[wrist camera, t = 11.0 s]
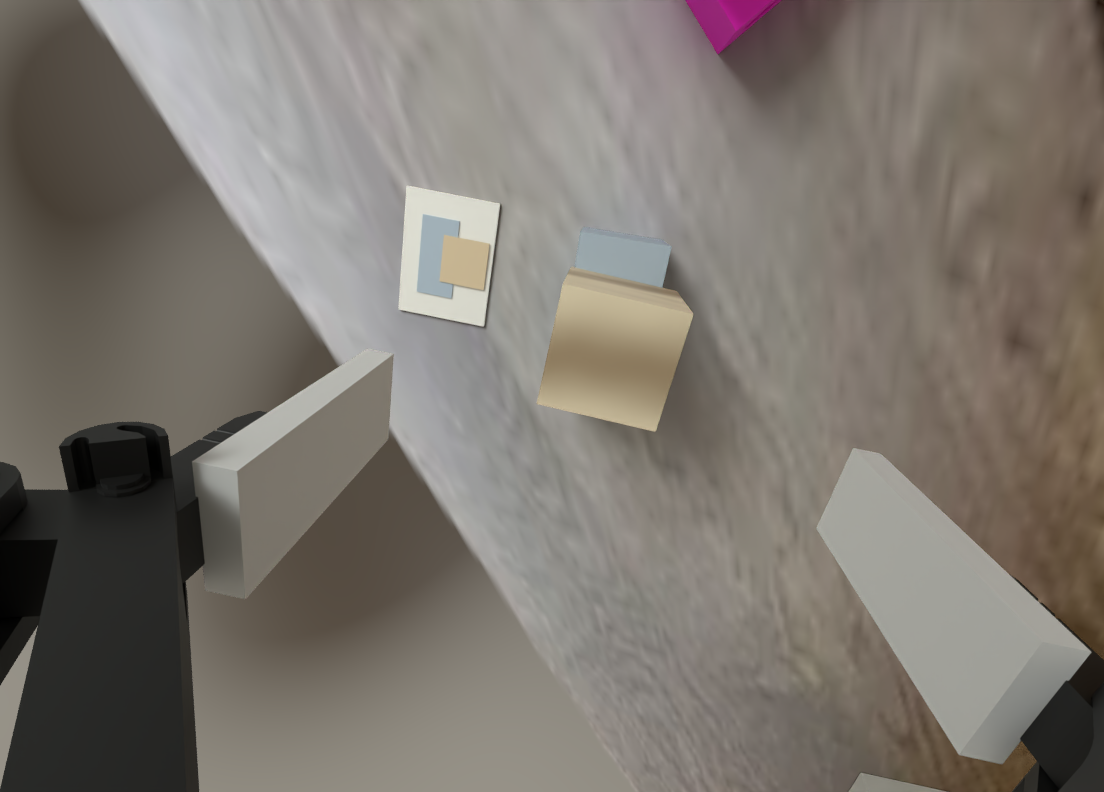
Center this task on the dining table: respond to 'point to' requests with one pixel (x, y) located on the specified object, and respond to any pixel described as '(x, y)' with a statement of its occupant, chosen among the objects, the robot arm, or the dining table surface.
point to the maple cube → (614, 348)
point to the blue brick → (623, 255)
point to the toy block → (728, 18)
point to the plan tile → (447, 255)
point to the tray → (886, 785)
